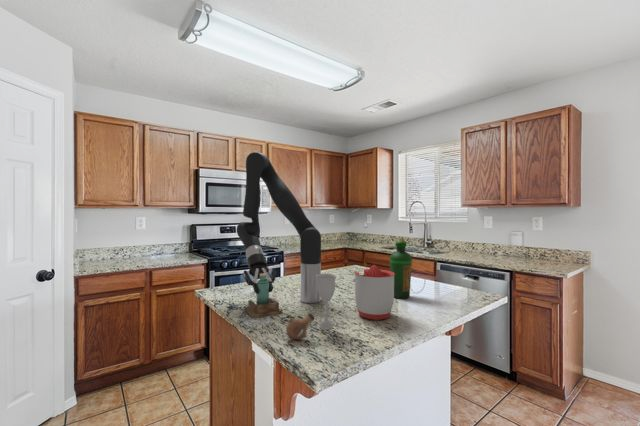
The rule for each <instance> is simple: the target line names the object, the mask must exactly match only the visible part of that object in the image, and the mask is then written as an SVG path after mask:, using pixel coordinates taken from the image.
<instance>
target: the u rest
mask: <svg viewBox="0 0 640 426" xmlns="http://www.w3.org/2000/svg"><path fill="white" fill-rule="evenodd" d="M243 309H244V311H245V312H246V313H247V314H249V316H251V318H254V319H255V318H260V317H267V316H272V315H280V314H283V310H282V309H281V308H280V302H279V301H277V300H276V299H274V298H273V297H269V303H267V304H260V305H256V303H255V302H254V301H253V300H252V299H250V300H248V306H244V308H243Z"/></svg>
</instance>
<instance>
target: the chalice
mask: <svg viewBox="0 0 640 426" xmlns="http://www.w3.org/2000/svg"><path fill="white" fill-rule="evenodd" d="M316 277H317V290H318V293H319V295H320V297H321V300H320V301H322V302H323V303H324V306H323V309H324V311H323V314H324V317H323V319H321V320H320V322H319V325H318V329H322V330H331V329H333V328H334V325H333V323H332V320H330V318H328V314H329V311H328V309H329V307H328V306H329V305H328V303H329V302H331V300H332V298H333V296H334V295H335V290H336V278H337V275H336V274H332V273H321V274H318V275H316Z"/></svg>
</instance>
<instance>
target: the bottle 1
mask: <svg viewBox="0 0 640 426" xmlns="http://www.w3.org/2000/svg"><path fill="white" fill-rule="evenodd" d="M256 283H257V285H258V289H259V293H258V294H256V303H255V304H256V305H260V304H267V303H269V298H270V292H269V282H268V280H266V273H261V274H260V279H258V280H257V282H256Z"/></svg>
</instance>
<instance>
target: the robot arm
mask: <svg viewBox="0 0 640 426" xmlns="http://www.w3.org/2000/svg"><path fill="white" fill-rule="evenodd" d="M245 172H246V173H245V179H246V180H245V181H246V182H245V195H244V202H243V210H242V215H243V217H245V218H248V219H250V220H251V222H249V221H248V222H247V221H240V222H239V223H237V226H236V234H237V237H238V238H239V240H240V241H241V243H242V244H243V246H244V251H245V257H246V259H245V260H246V261H247V265H248V270H243V273H242V277H243V278H244V281H245V282H246V284H247V286H252V288H253V292H254V293H255V294H256V295H257V294H258V293H259V289H258V285H257V282H258V280H260V274H261V273H266V280H268V282H269V293H272V291H273V289H274V285H273V284H274V283H275V280H276V268H269V267H268V265H267V264H268V263H267V261H266V257H265V254H264V250H263V249H262V246H261V245H262V244H261V241H260V239H259V238H258V236H259V235H260V232H261V228H260V218H259V213H260V205H261V193H260V191H261V190H260V183H261V180H262V181H263V183H264V184H265V186H266V188H267V190H268V193H269V195H270V198H271V199H272V202H273V203H274V205H275V206H276V207H277V209H278V210H279V211H280V213H282V215H283V216H284V217H285V218H286V219H287V220H288V222H290V223H291V224H292V226H293V227H294V228H295V231H296V232H297V234H298V236H299V237H300V243H299V244H300V247H299V248H300V254H299V255H300V295H299V296H300V298H299V299H300V302H301V303H304V304H305V303H307V304H316V303H321V301H322V300H321V297H320V295H319V293H318V290H317V277H316V275H318V274H322V273H321V272H322V271H321V270H322V269H321V268H322V263H321V262H322V235H321V233H320V231H319V230H318V229H317V228H316V226H314V224H313V223H312V222H311V221H310V220H309V219H308V217H307V216H306V214H305V212H304V210H303V209H302V206H301V205H300V203H299V202H298V200H297V199H296V197H295V196H294V194H293V192H292V191H291V190H290V188H289V187H288V186H287V184H286V183H285V182H284V181H283V179H282V178H281V177H280V176H279V174H278V173H277V171H276V169H275V168H274V167H273V164H272V162H271V161H270V159H269V157H268V156H267V155H266V154H264V153H261V152H260V151H252V152H250V153H249V154H248V155H247V156H246V160H245ZM251 276H252V278H251Z"/></svg>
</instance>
